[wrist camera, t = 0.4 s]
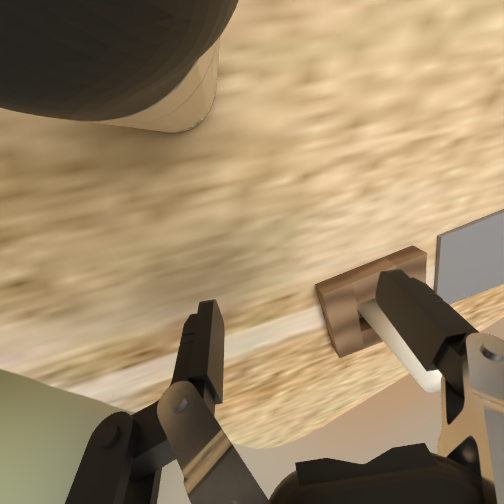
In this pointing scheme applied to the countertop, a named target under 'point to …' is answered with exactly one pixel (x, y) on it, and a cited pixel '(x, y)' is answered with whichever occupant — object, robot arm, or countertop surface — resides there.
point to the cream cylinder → (399, 346)
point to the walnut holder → (362, 298)
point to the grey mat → (470, 258)
